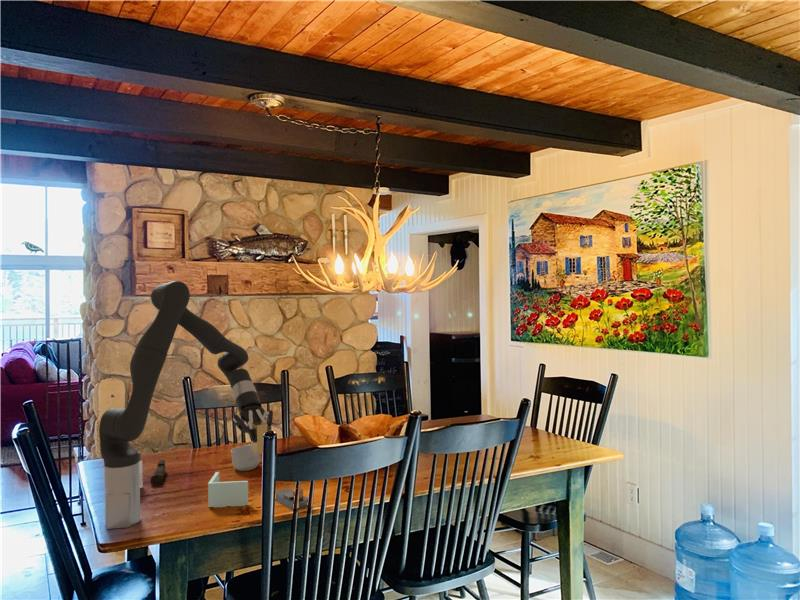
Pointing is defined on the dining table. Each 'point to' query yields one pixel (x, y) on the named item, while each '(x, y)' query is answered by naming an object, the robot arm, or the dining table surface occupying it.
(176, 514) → the dining table surface
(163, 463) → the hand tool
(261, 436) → the lever cap
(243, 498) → the right angle wall
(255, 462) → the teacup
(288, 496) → the body
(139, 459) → the jar
